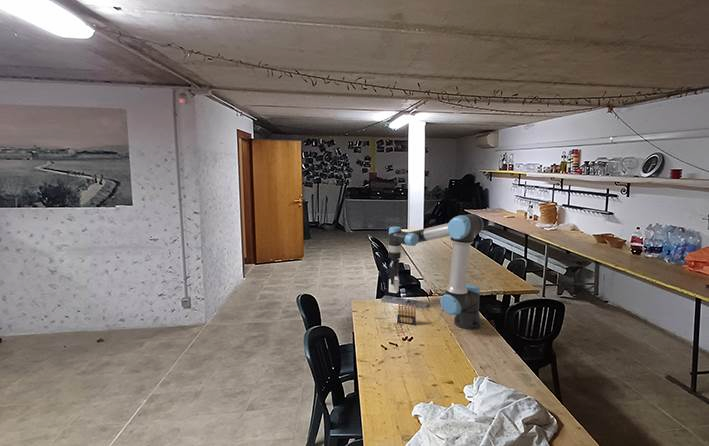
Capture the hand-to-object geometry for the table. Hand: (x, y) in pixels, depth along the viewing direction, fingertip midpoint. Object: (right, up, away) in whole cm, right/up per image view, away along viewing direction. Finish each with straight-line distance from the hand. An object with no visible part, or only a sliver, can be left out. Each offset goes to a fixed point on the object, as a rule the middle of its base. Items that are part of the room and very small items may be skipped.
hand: (393, 287), depth 247 cm
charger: (0, -2, 0) cm, 2 cm away
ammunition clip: (+5, -18, -20) cm, 27 cm away
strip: (+13, -13, +7) cm, 20 cm away
